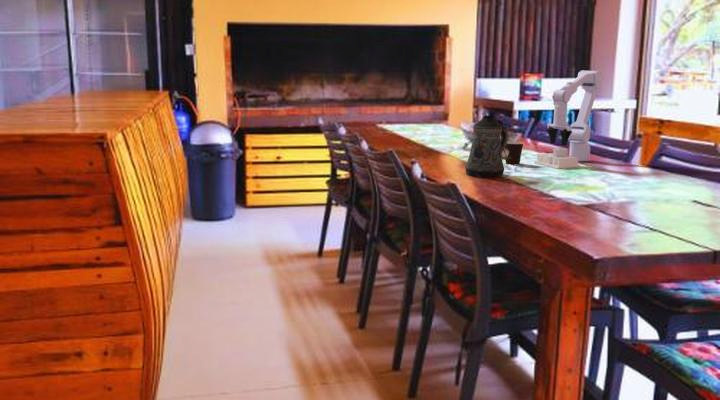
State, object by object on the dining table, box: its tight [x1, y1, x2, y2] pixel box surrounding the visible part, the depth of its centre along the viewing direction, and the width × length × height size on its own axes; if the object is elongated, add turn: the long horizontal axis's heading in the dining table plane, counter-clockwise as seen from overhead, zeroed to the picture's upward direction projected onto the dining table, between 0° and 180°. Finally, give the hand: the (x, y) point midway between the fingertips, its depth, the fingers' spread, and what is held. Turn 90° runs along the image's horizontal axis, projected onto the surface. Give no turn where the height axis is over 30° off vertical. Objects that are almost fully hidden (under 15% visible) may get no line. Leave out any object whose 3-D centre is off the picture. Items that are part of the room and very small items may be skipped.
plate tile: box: [552, 147, 569, 157], centre depth 313 cm, size 7×2×7 cm, turn 114°
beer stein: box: [464, 115, 509, 179], centre depth 288 cm, size 16×19×25 cm
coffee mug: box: [504, 141, 524, 166], centre depth 319 cm, size 12×9×10 cm
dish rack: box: [534, 152, 581, 170], centre depth 315 cm, size 13×16×4 cm
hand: (558, 144), depth 317 cm, fingers open, 7 cm apart
